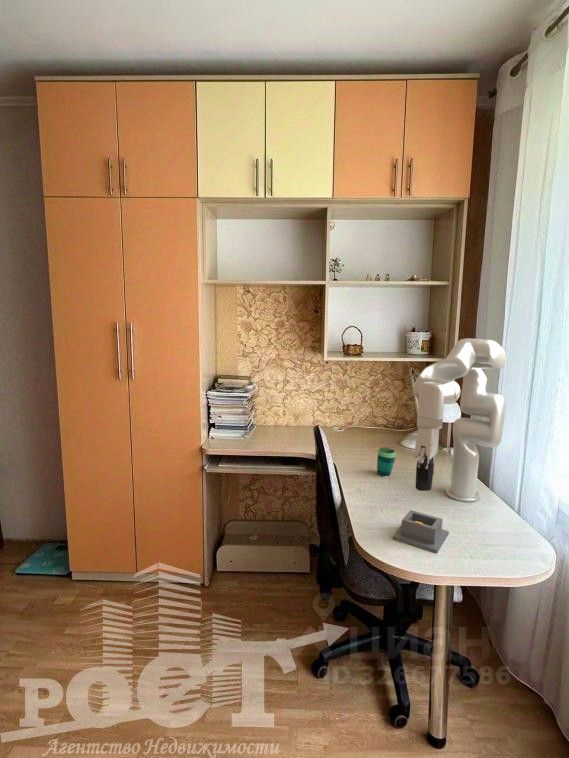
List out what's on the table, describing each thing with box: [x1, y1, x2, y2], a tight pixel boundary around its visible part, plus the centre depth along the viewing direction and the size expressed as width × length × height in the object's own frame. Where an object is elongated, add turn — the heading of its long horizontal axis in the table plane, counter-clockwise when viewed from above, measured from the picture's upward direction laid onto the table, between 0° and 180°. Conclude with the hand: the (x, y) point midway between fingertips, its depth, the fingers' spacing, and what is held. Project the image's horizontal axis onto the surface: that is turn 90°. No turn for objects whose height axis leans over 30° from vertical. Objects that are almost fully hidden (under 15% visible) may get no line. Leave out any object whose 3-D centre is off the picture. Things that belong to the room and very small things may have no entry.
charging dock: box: [392, 509, 450, 554], centre depth 141 cm, size 14×14×6 cm
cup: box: [376, 446, 397, 477], centre depth 192 cm, size 8×8×12 cm
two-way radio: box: [415, 458, 435, 492], centre depth 137 cm, size 6×4×15 cm
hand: (425, 476), depth 138 cm, fingers closed on two-way radio, 4 cm apart
